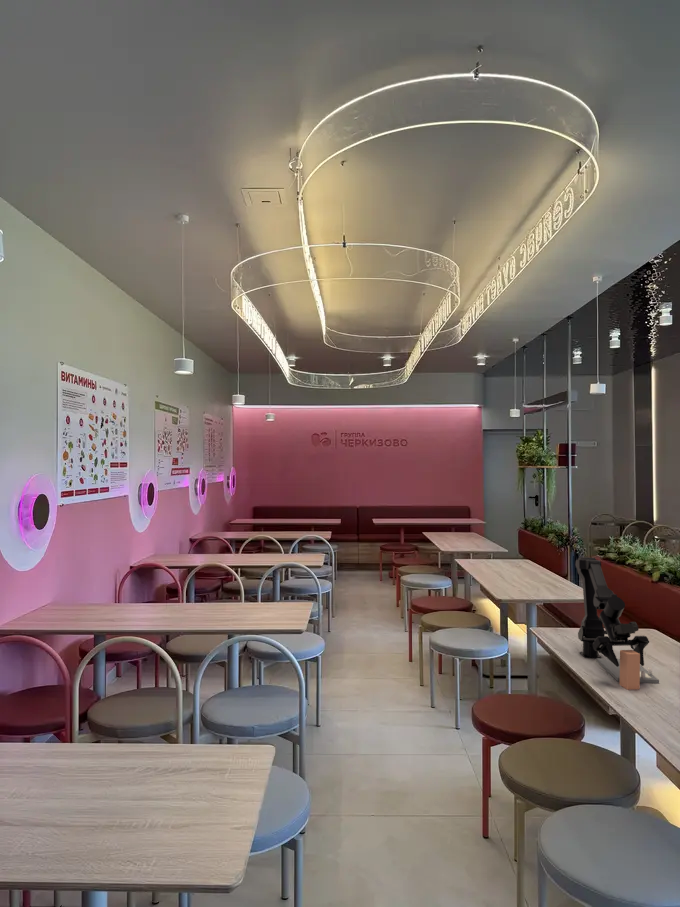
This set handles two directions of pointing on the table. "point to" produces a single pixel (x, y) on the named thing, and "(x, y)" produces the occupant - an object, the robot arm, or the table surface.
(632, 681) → the terracotta block
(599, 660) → the base plate
